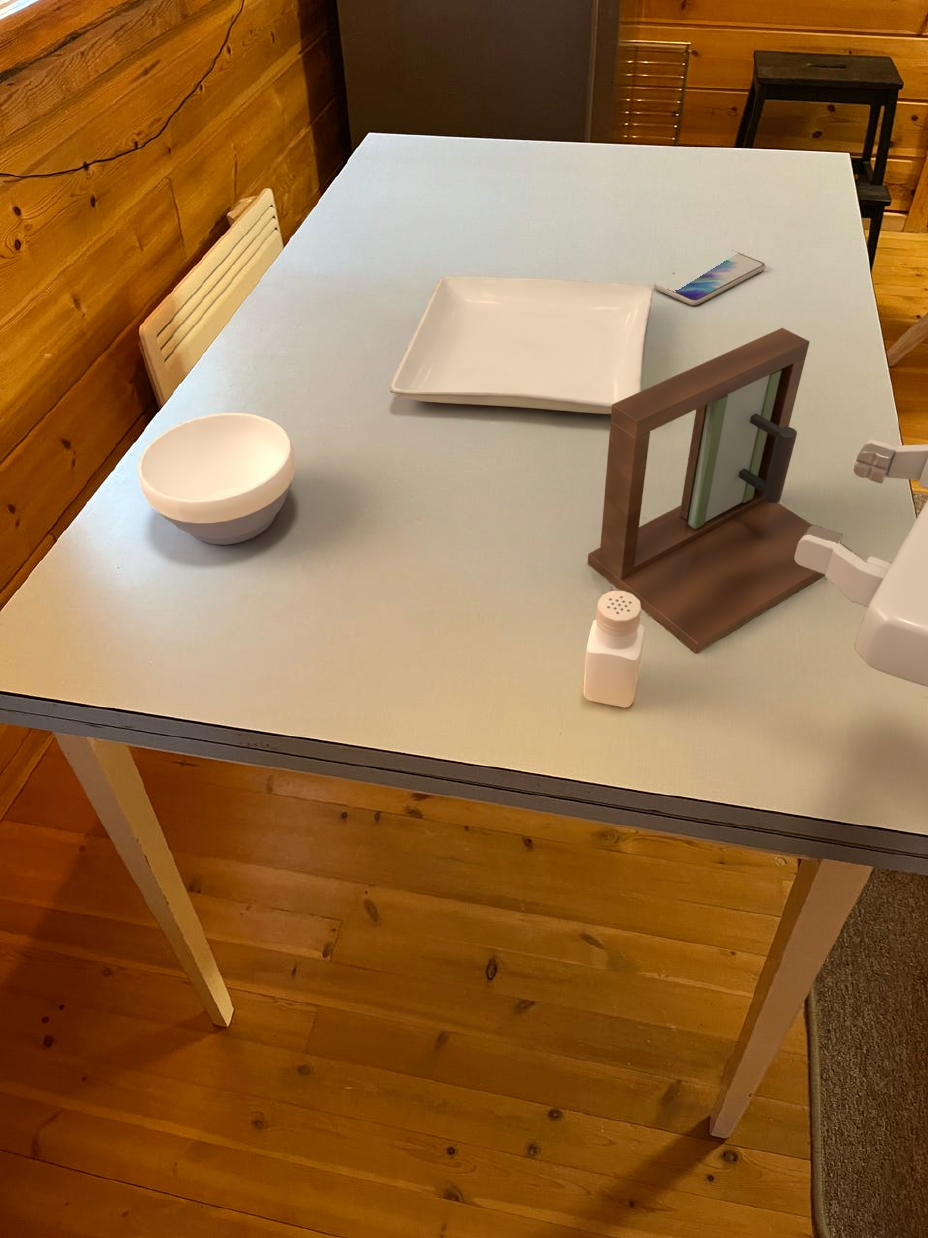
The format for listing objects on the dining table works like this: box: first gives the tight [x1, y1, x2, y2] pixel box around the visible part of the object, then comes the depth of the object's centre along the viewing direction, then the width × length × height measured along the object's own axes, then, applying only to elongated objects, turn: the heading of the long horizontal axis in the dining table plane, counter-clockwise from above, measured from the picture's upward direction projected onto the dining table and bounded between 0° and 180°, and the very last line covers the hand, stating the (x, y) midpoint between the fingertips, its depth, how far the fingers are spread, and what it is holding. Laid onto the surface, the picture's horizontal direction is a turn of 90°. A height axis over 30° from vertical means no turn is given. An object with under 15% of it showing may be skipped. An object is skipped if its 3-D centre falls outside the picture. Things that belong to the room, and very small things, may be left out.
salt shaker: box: [582, 590, 646, 708], centre depth 71 cm, size 4×4×10 cm
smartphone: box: [653, 249, 766, 306], centre depth 122 cm, size 7×1×15 cm
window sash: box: [688, 370, 798, 529], centre depth 80 cm, size 5×7×14 cm
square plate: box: [388, 276, 653, 415], centre depth 109 cm, size 27×27×4 cm
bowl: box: [137, 412, 297, 545], centre depth 89 cm, size 14×14×8 cm
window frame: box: [587, 327, 853, 654], centre depth 78 cm, size 14×19×18 cm
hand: (831, 497), depth 52 cm, fingers open, 8 cm apart
